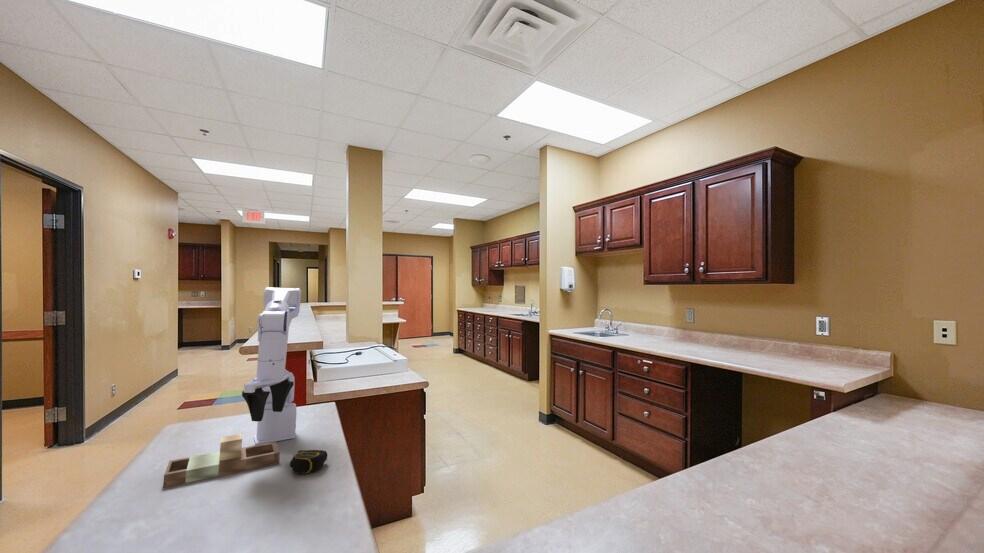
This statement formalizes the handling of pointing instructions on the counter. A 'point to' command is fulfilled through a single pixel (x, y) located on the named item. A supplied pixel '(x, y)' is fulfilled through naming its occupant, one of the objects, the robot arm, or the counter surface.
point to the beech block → (230, 447)
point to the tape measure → (308, 461)
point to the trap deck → (219, 464)
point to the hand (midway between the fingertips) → (267, 416)
